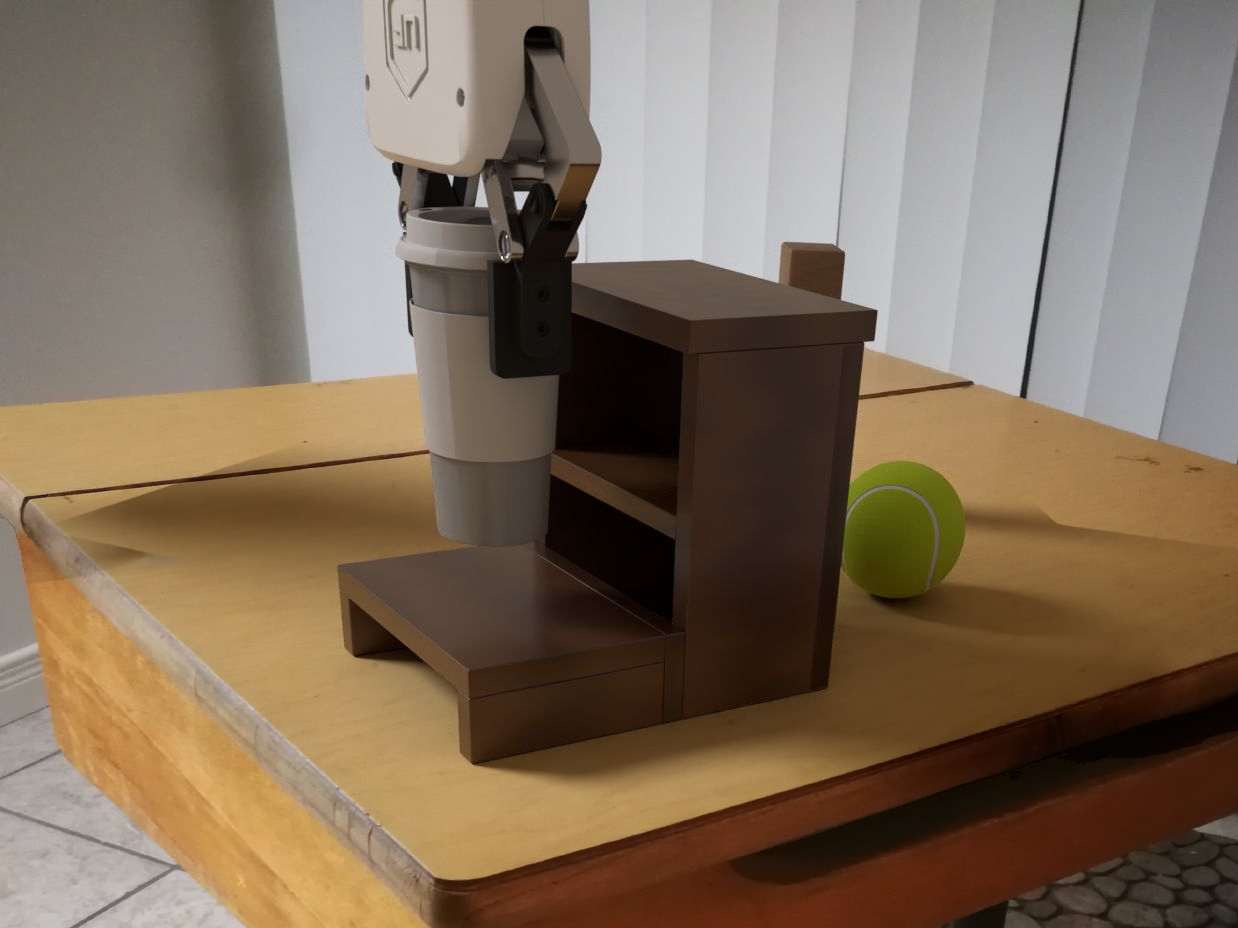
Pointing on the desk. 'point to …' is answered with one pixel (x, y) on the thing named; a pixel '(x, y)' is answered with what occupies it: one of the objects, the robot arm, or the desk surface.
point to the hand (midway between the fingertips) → (487, 352)
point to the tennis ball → (901, 529)
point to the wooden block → (812, 267)
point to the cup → (474, 389)
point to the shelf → (652, 520)
